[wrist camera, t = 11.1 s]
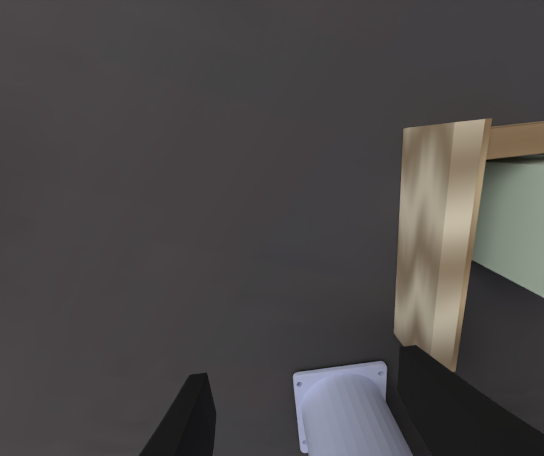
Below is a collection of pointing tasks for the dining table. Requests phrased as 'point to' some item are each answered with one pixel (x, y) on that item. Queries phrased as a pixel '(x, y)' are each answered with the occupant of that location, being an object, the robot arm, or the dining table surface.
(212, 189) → the dining table surface
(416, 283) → the l-shaped wooden block
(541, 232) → the cabinet block
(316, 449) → the robot arm
